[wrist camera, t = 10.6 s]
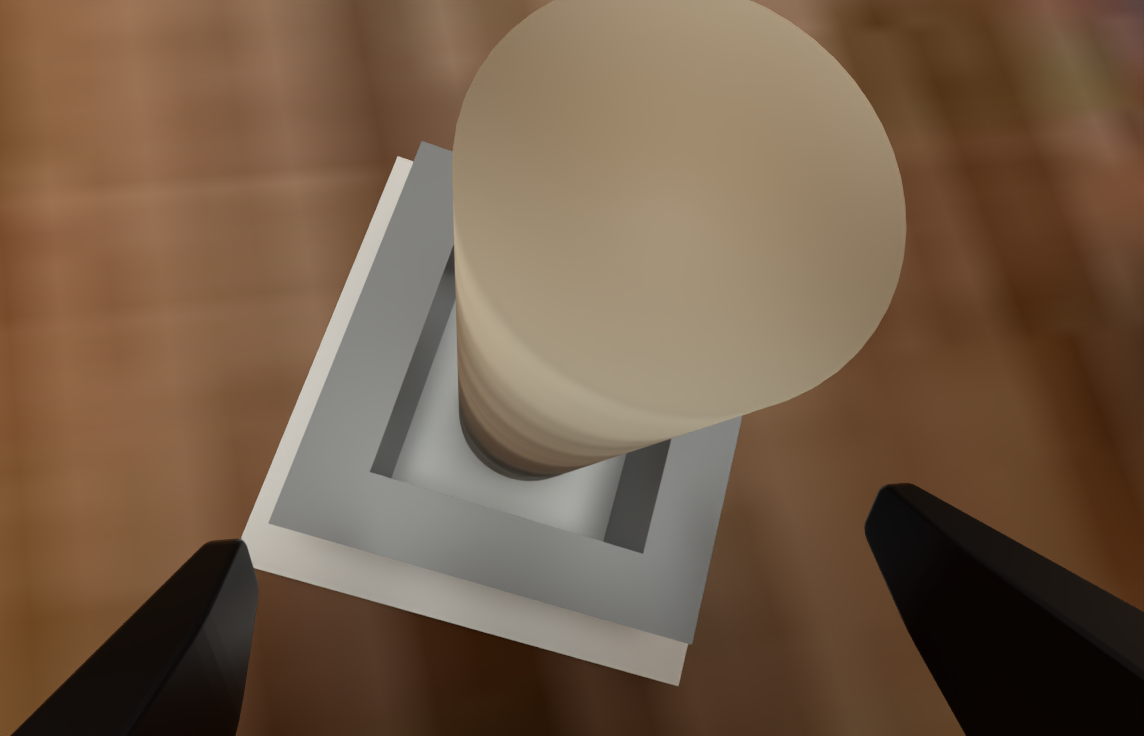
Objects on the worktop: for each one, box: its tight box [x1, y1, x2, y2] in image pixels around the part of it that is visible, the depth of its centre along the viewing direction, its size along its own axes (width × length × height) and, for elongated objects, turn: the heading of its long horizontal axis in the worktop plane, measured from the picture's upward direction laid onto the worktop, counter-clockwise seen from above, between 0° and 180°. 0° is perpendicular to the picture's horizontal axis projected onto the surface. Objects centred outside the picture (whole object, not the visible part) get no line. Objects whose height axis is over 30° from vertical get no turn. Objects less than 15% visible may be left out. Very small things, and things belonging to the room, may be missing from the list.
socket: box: [241, 141, 742, 686], centre depth 16 cm, size 12×12×5 cm
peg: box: [452, 0, 906, 481], centre depth 12 cm, size 4×4×13 cm
